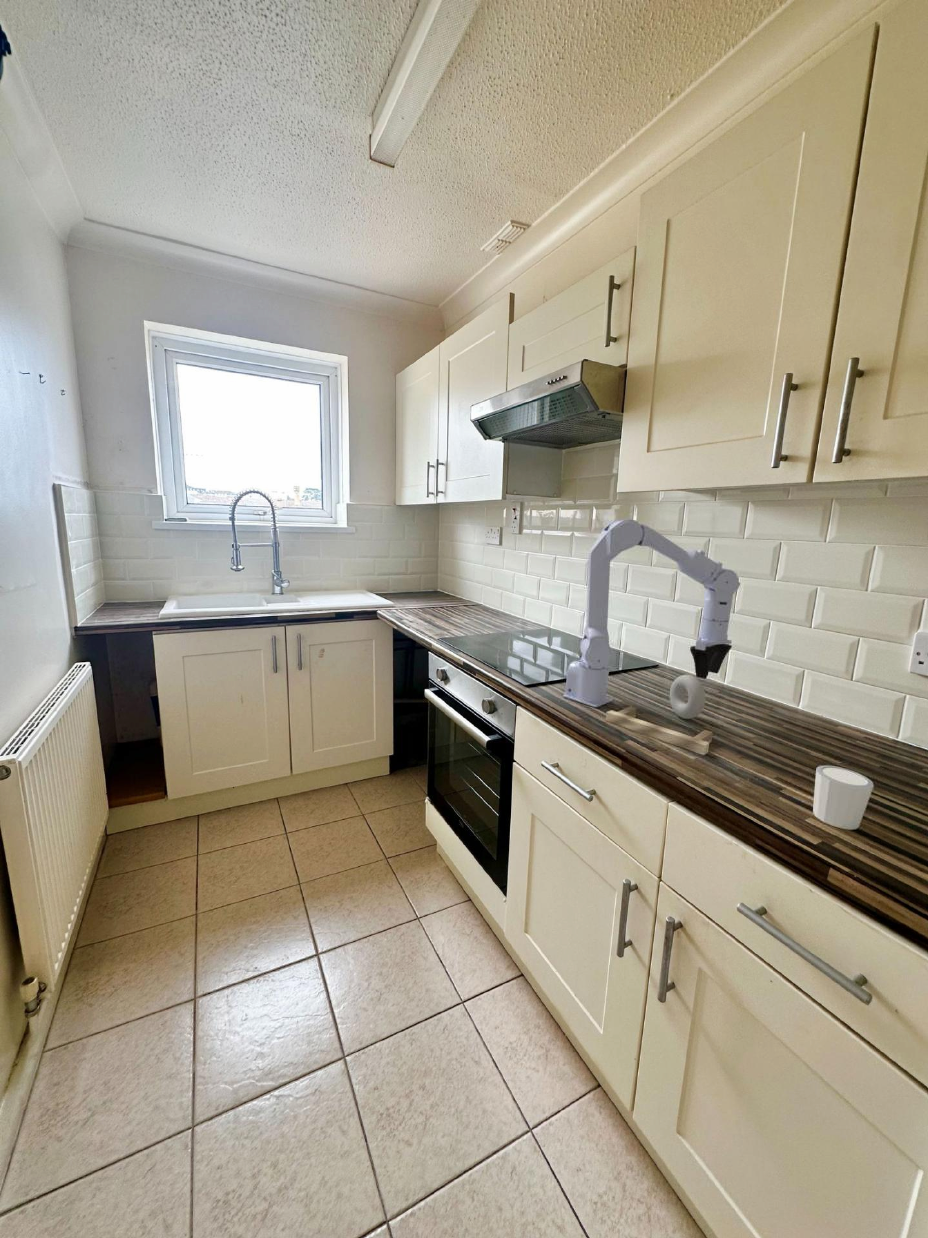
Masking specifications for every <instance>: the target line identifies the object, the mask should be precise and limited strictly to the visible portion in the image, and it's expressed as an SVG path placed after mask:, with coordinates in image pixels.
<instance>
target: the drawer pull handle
mask: <svg viewBox="0 0 928 1238" xmlns="http://www.w3.org/2000/svg"><path fill="white" fill-rule="evenodd" d="M636 715H637V707H635V706H628V707H625V708H623V709H622V710H619V711H616V710H611V709H610V710H608V711H606V713H605V721H606V722H608V723H610V724H614V725H617V726H619V727H623V728H626V729H628V730H630V731H634V732H637V733H640V734H642V735H645V736H647V737H651V738H654V739H657V740H659V741H663V742H665V743H668V744H671V745H674V746H677V747H680V748H682V749H685V750H688V751H690V752H693V753H697V754H699V755H702V756H705V755H706V754H708V753H709V747H710V743H712V741H713V734H714V733H713V732H714V731H710V730H707V729H705V730H702V731H701V732H700V733H697V734H696V735H695V736H694V737H693V736H690V735H687V734H684V733H681V732H678V731H675V730H673V729H669V728H666V727H662V726H660V725H657V724H654V723H651V722H648V721H645V720H642V719H639V718H636V717H637V716H636Z"/></svg>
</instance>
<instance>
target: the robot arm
mask: <svg viewBox="0 0 928 1238" xmlns="http://www.w3.org/2000/svg"><path fill="white" fill-rule="evenodd" d="M636 546H640V547H649V548H651V549H652V550H653V551H655V552H658V553H659V554H661V555H663V556H664V557H666V558H668V559H669V560H671V561H674V562H676V564H677V569H678V571H679V572H681V573H682V574H684V575H686V576H687V577H689V578H691V579H693V580H694V581H695V582H697V583H699V584H701V585H703V587H704V589H705V597H704V601H703V610H702V616H701V621H700V622H701V624H700V632H699V635H698V637H697V640H696V641H695V645H691V646H690V647H689V648H690V649H689V652H690V654H691V655H692V659H693V662H694V670H695V671H694V672H695V678H699V679H703V680H706V679H707V677H708V676H709V673H712V674H718V673H720V669H721V667H722V665H723V662H724V661H725V658H726V656H727V654H728V653H729V652H730V651H731V649H732V645H731V644H732V640H731V639H728V636H729V635H728V630H729V623H730V616H731V610H732V603H733V597H734V596H733V595H734V594H735V593H736V592H737V591H738V589H739V588H740V586H741V582H740V579H739V576H738V574H737V573H736V572H735V571H733V570H732V569H727V568H723V563H721V562H720V561H714V560H713V559H711V558H709V557H707V556H706V552H705V551H703V550H702V549H698V550H696V549H690V550H685V549H683V548H682V547H680V546H679V545H678V544H676V543H674V541H671V540H670V539H668V538H667V537H665V536H663V535H662V534H661V533H659V532H658V531H657V530H654V529H653V528H651V527H650V526H647V525H645V524H643V523H641V524H640V523H639V522H638V521H636V520H634V519H631V518H627V519H616V520H614V521H611V522H610V524H608V525H607V526H605V527H604V528H602V531H601V533H600V534H599V536H598V537H597V539H596V540H595V542H594V543H593V544H592V546H591V548H590V549H589V552H588V565H587V566H588V567H587V589H586V590H587V593H586V595H587V596H586V621H585V623H586V625H585V628H584V630H583V637H582V639H581V641H580V643H579V651H580V654H581V655H582V656H581V657H580V658H579V660H573V661H572V662H571V663H569V666H568V667H567V671H566V682H565V692H564V694H563V698H566V699H569V700H572V701H574V702H579V703H581V704H584V705H587V706H590V707H592V708H598V707H600V706H603V705H605V704H609V703H611V702H613V700H614V699H613V698H611V697H609V696H607V690H608V683H609V682H608V681H609V674H610V673H609V670H610V664H611V662H612V660H613V650H612V648H611V646H610V636H609V631H608V630H609V629H608V623H609V622H608V617H609V597H610V596H609V594H610V575H611V574H610V571H611V561H612V560H614V559H615V558H616V557H617V556H618V555H620V554H621V553H622V552H625V551H627V550H629V549H631V548H634V547H636Z"/></svg>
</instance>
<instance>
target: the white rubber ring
mask: <svg viewBox="0 0 928 1238" xmlns="http://www.w3.org/2000/svg"><path fill="white" fill-rule="evenodd" d="M686 692H687V693H688V698H687V699H688V700H686ZM669 701H670V705H671V708H672V710H673V711H674V713H675V714H676V715H677V716H679V717H680V718H682V719H685V720H686V719H687V720H690V719H695V718H697V717H698V716H699V715H701V713H702V712H703V709H704V708H705V703H706V692H705V689H704V686H703V684H702V683H701V681H700V680H699V679H698V677H696V676H693V675H691V674H683V675H680V676H677V677H676V679H674V681H672V684H671V686H670V690H669Z"/></svg>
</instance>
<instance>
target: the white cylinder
mask: <svg viewBox="0 0 928 1238" xmlns="http://www.w3.org/2000/svg"><path fill="white" fill-rule="evenodd" d="M874 787H875V785H874V783H873V781H872V780H871V779H870V778H868V777H867V776H865V775H863V774H860V773H859V772H856V771H854V770H851V769H848V768H844V767H840V766H836V765H835V766H834V765H819V766H818V767H816V770H815V781H814V792H813V805H812V806H813V809H812V811H813V812H812V813H813V815H814V816H815V817H816V818H817V819H818V820H820V821H822V822H823V823H825V824H828V825H830V826H832V827H836V828H839V829H843V830H849V831H850V830H851V831H852V830H857V829H858V828H859V827H860V825H861V822H862V818H863V817H864V814H865V811H866V808H867V806H868V803H869V800H870V798H871V794H872V792H873V789H874Z"/></svg>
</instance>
